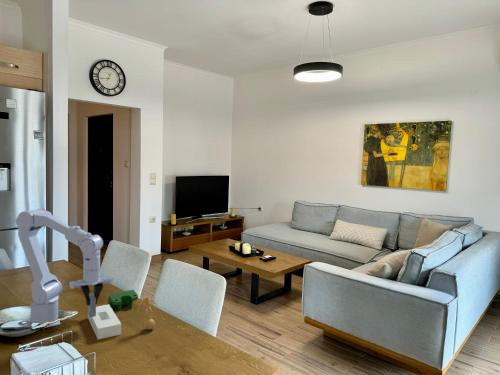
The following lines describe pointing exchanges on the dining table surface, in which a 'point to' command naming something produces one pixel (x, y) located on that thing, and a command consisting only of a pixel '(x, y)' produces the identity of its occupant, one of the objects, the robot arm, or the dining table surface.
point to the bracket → (92, 305)
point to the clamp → (122, 299)
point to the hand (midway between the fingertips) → (91, 303)
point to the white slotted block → (105, 322)
